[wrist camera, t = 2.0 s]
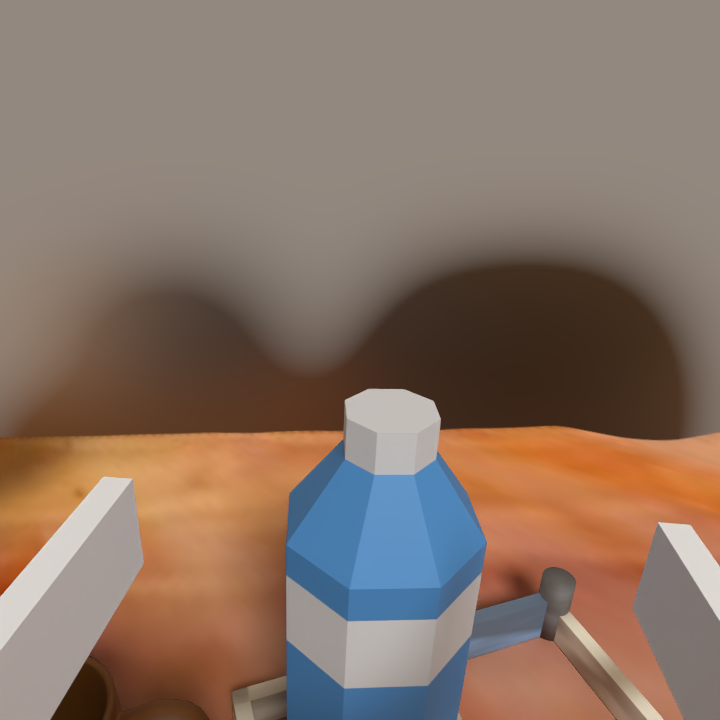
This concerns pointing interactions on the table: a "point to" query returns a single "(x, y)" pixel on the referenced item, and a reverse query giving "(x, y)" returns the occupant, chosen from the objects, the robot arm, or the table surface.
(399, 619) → the water bottle
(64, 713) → the mug
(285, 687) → the frame
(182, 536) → the table surface
